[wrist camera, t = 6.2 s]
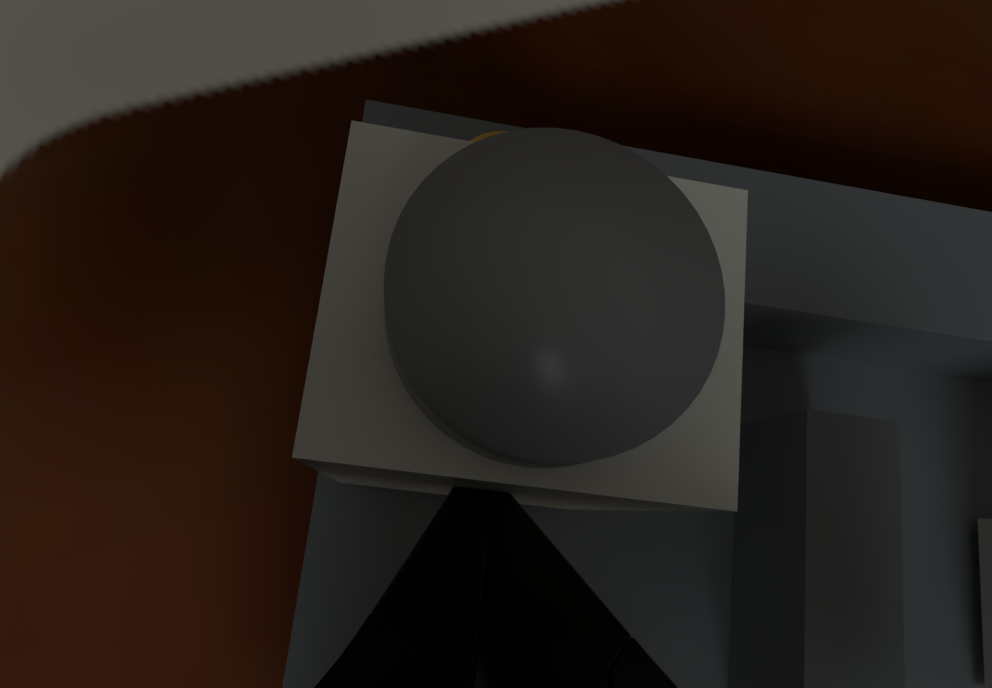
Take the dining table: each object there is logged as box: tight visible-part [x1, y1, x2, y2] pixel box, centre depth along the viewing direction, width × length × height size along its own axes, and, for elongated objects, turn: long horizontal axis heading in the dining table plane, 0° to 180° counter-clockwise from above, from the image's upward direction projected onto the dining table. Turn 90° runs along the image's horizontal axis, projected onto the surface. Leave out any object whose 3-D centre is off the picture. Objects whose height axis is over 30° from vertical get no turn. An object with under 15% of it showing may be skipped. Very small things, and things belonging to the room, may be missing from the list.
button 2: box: [292, 121, 748, 512], centre depth 12 cm, size 4×5×9 cm
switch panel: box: [282, 99, 992, 688], centre depth 17 cm, size 12×21×5 cm, turn 84°
